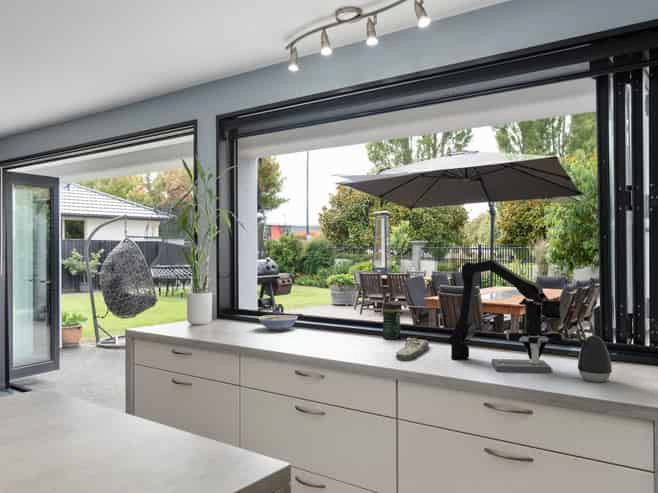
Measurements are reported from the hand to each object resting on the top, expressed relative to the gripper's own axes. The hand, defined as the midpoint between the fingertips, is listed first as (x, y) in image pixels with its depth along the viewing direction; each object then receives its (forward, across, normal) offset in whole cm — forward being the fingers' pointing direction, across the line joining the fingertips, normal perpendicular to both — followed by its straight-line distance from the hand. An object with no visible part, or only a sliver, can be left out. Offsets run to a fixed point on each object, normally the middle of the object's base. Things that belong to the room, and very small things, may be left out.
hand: (534, 359), depth 188 cm
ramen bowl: (+4, +122, -81) cm, 146 cm away
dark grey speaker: (+4, -16, +15) cm, 22 cm away
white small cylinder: (+1, 0, 0) cm, 1 cm away
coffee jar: (+4, +56, -60) cm, 82 cm away
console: (+4, +5, 0) cm, 6 cm away
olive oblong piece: (+4, +45, -25) cm, 52 cm away
